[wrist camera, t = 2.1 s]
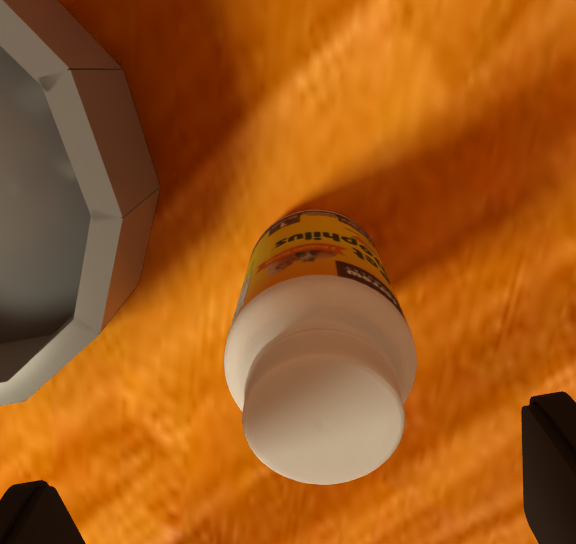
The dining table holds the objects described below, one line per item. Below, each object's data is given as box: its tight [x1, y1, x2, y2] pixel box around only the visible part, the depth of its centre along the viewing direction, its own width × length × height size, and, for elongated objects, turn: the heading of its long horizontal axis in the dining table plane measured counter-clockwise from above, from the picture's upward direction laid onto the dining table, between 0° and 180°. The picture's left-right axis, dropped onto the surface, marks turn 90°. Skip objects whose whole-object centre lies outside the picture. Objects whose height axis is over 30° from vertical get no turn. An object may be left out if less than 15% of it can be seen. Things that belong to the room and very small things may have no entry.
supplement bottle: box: [224, 210, 417, 484], centre depth 16 cm, size 6×6×10 cm
